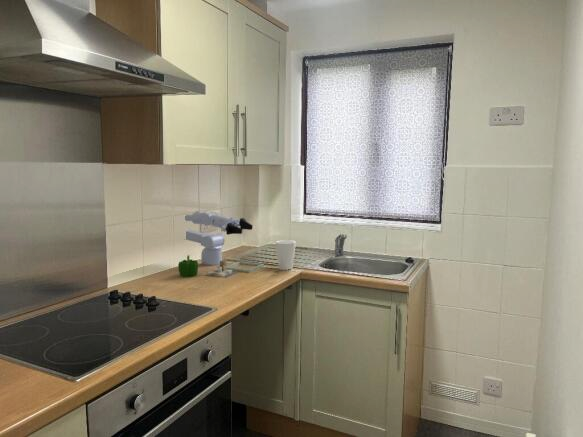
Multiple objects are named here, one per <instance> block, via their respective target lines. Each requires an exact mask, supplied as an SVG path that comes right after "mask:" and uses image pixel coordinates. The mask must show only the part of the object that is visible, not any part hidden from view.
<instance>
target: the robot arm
mask: <svg viewBox="0 0 583 437" xmlns="http://www.w3.org/2000/svg"><path fill="white" fill-rule="evenodd" d="M187 214H188V213H187ZM185 220H186V221H185V222H192V224H195V225H204V226H205V227H208V226H212V227H215V228H218V229H221V232H224V233H225V232H226V235H228V236H229V235H235V234H236V235H237V234H238V235H242V234H243V230H249V231H251V230H253V224H251V223H249V221H247V219H245V218H244V217H241V218H240V219H235V217H234V216H230V217H227V216H223V215H219V214H217V213H216V212H207V211H204V212H201V211H200V210H197V211H195V212H193V213H192V214H188V215H186V216H185ZM188 230H189V231H186V239H185V240H187V241H190V242H195V243H198V244H200V246H202V247H203V248H202V251H201V253H200V254H201V257H200V258H201V264H202V265H208V266H220V261H222V260H223V257H222V252H223V251H222V248H223V246H224V244H225V236H224V235H223V234H222V233H217V234H214V233H209V234H208V233H204V232H199V231H195V230H191V229H188Z"/></svg>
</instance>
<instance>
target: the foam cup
mask: <svg viewBox="0 0 583 437" xmlns="http://www.w3.org/2000/svg"><path fill="white" fill-rule="evenodd" d="M296 244H297V242H296V240H289V239H284V240H283V239H282V240H277V241H275V247H276V249H275V250H276V255H277V262H278V267H279V268H278V269H279V270H281V271H289V270H288V269H291V270H293V269H292V268H293V267H294V259H295V253H296V251H295V250H296V246H297V245H296Z"/></svg>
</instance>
